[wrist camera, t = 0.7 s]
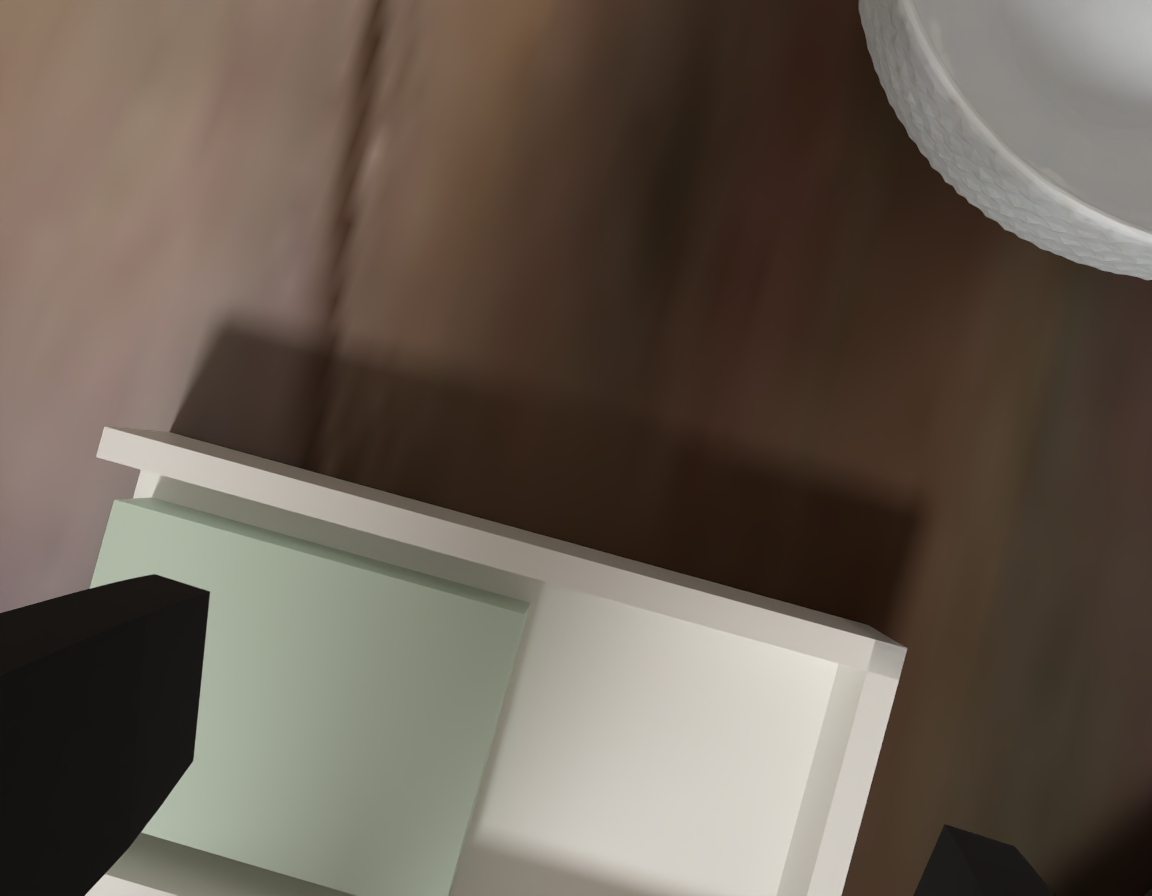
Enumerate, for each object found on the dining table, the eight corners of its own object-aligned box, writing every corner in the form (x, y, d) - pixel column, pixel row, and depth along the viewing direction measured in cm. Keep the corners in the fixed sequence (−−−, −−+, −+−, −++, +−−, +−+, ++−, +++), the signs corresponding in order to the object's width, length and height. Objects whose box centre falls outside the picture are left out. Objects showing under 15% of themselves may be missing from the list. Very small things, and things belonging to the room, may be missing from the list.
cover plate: (453, 885, 26) (440, 920, 24) (74, 775, 26) (31, 800, 24) (530, 603, 26) (524, 614, 24) (151, 497, 26) (114, 499, 24)
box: (760, 1025, 27) (783, 1109, 23) (60, 819, 27) (-20, 871, 24) (867, 625, 27) (907, 648, 23) (168, 431, 28) (104, 426, 24)
